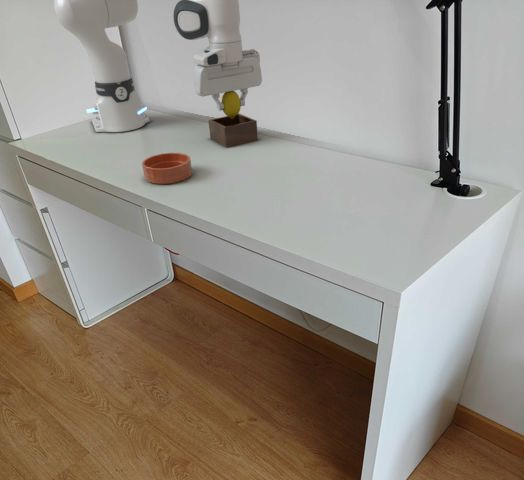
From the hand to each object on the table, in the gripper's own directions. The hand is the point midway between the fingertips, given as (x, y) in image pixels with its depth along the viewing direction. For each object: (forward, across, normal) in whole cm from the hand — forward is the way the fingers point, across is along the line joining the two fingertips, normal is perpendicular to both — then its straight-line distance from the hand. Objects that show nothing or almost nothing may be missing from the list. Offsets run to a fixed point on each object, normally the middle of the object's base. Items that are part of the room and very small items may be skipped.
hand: (231, 107), depth 145 cm
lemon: (+3, 0, 0) cm, 3 cm away
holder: (+9, 0, 0) cm, 9 cm away
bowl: (+9, +28, +16) cm, 33 cm away
